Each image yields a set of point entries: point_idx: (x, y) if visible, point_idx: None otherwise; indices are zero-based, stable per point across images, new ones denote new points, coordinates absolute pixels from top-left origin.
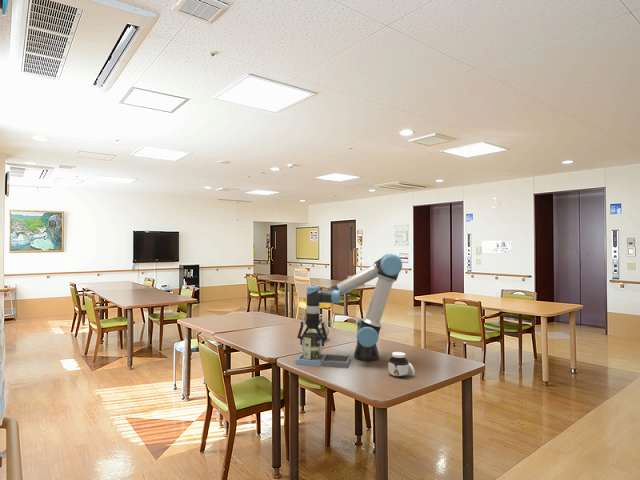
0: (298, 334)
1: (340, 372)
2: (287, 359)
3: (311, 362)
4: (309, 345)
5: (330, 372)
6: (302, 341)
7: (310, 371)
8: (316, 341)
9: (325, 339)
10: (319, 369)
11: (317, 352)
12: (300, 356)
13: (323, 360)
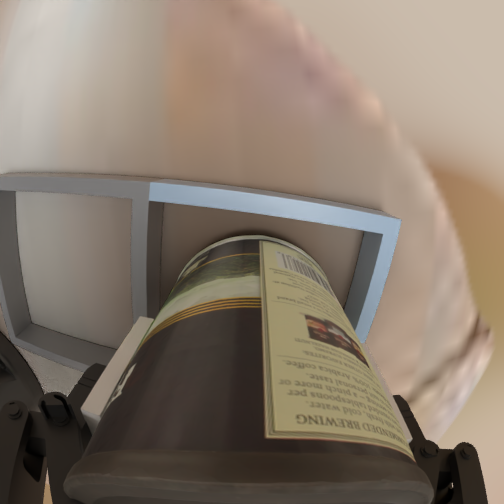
0: (479, 482)
1: (40, 69)
2: (428, 327)
3: (247, 189)
4: (290, 320)
5: (93, 43)
6: (400, 422)
7: (242, 25)
8: (138, 380)
9: (19, 407)
10: (169, 84)
11: (175, 291)
12: (360, 318)
13: (134, 238)
